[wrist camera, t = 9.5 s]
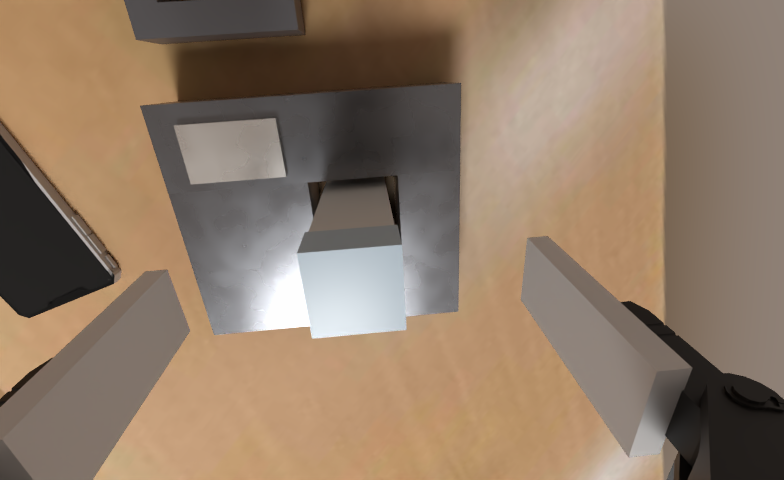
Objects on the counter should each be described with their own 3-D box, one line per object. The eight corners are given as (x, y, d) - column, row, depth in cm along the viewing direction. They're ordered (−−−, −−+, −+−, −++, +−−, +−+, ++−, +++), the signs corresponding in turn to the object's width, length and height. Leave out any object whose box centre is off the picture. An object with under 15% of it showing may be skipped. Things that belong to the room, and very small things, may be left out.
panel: (177, 101, 22) (135, 106, 18) (444, 82, 22) (462, 83, 18) (233, 301, 27) (211, 339, 23) (445, 281, 28) (459, 314, 24)
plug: (326, 174, 24) (296, 253, 13) (384, 170, 24) (402, 244, 13) (333, 227, 26) (312, 338, 15) (387, 223, 26) (406, 329, 15)
